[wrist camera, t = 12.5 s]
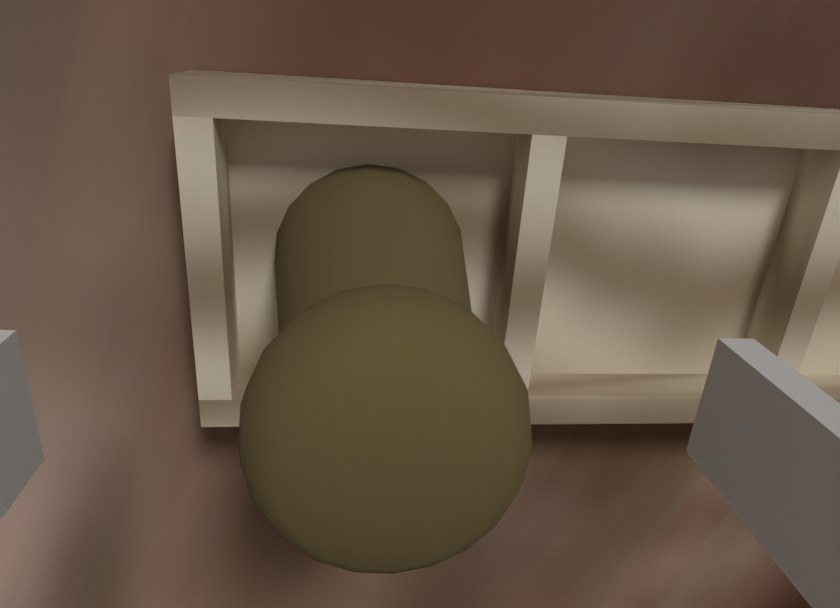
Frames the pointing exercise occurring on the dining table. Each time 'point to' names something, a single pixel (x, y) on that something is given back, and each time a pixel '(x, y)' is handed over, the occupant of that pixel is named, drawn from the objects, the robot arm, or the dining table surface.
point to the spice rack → (534, 227)
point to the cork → (380, 383)
